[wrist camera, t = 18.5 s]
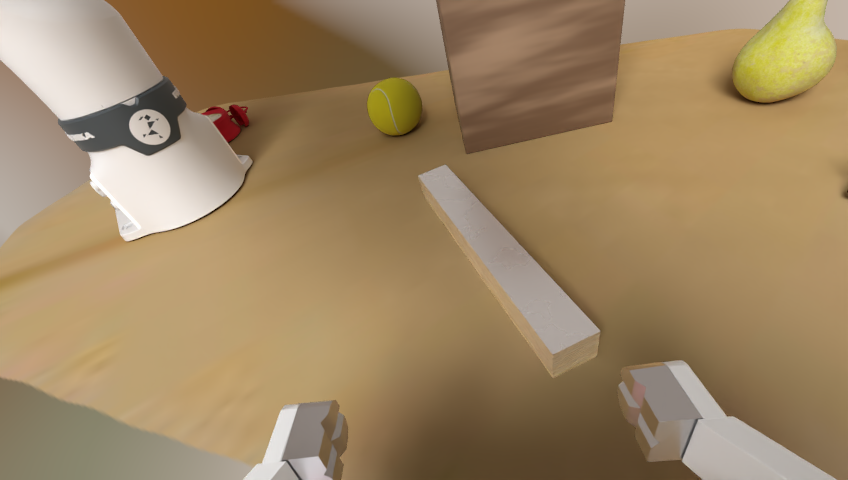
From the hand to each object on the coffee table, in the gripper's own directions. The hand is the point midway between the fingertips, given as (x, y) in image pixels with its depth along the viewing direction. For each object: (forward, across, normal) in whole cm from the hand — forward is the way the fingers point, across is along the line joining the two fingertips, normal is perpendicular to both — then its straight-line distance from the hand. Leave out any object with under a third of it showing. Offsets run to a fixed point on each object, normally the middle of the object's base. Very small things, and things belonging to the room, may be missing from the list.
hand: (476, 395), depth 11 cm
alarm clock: (+61, +40, +4) cm, 73 cm away
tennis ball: (+44, +5, +4) cm, 45 cm away
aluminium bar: (+18, -2, +8) cm, 20 cm away
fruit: (+31, -33, +4) cm, 46 cm away
